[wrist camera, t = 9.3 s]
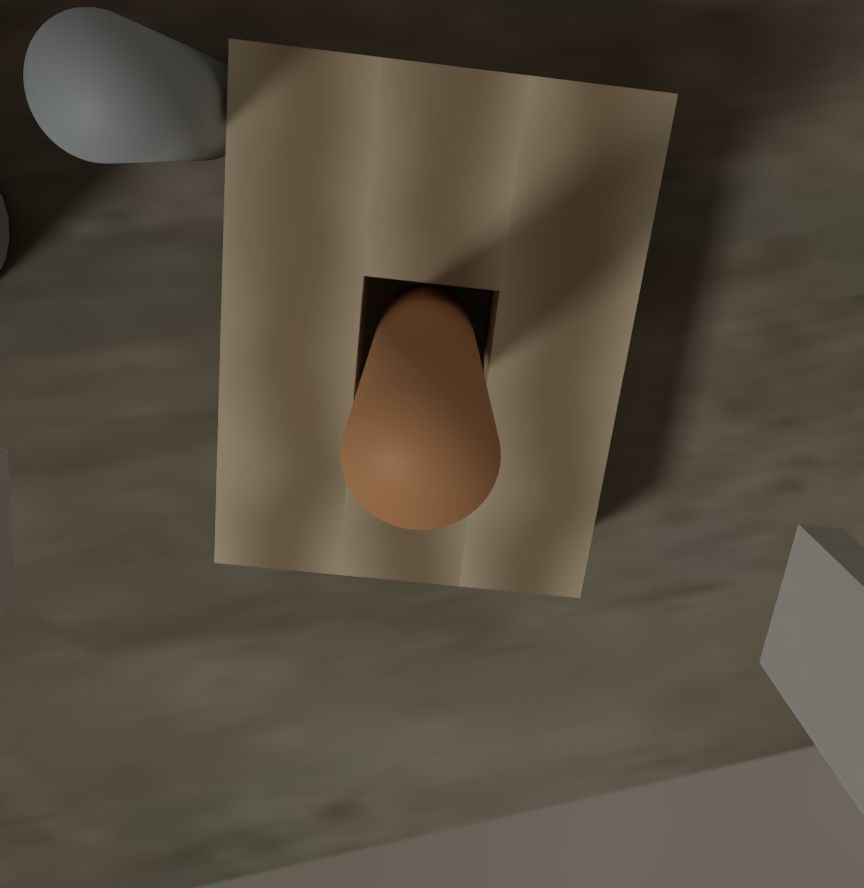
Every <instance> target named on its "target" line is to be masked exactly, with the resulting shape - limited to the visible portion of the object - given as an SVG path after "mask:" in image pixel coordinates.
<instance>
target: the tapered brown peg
mask: <svg viewBox="0 0 864 888" xmlns="http://www.w3.org/2000/svg"><path fill="white" fill-rule="evenodd" d="M340 460H341V467H342V472H343V475H344V478H345V481H346V483H347V486H348V488H349V489H350V491H351V493H352V494H353V496H354V497H355V498H356V500H357V501H358V502H359V503H360V504H361V505H362V506H363V507H364V508H365V509H366V510H367V511H368V512H370V513H371V514H372V515H374V516H375V517H377V518H378V519H380V520H382V521H384V522H386V523H388V524H391V525H394V526H397V527H400V528H405V529H411V530H430V529H437V528H442V527H445V526H448V525H451V524H454V523H456V522H458V521H460V520H462V519H464V518H465V517H467V516H468V515H470V514H471V513H472V512H473V511H475V510H476V509H477V508H478V507H479V506H480V505H481V504H482V503H483V502H484V501H485V499H486V498H487V497H488V495H489V494H490V492H491V490H492V488H493V487H494V485H495V482H496V479H497V477H498V473H499V469H500V462H501V447H500V441H499V436H498V432H497V428H496V424H495V419H494V415H493V411H492V406H491V402H490V398H489V394H488V389H487V385H486V381H485V376H484V372H483V368H482V364H481V359H480V355H479V351H478V347H477V342H476V338H475V334H474V329H473V325H472V321H471V317H470V314H469V311H468V309H467V307H466V306H465V304H464V303H463V301H462V300H461V299H460V298H459V297H458V296H457V295H456V294H455V293H453V292H452V291H450V290H449V289H447V288H445V287H442V286H439V285H436V284H429V283H422V284H415V285H411V286H408V287H406V288H404V289H402V290H400V291H399V292H397V293H396V294H395V295H394V296H393V297H392V298H391V299H390V300H389V301H388V302H387V304H386V306H385V307H384V309H383V311H382V313H381V317H380V320H379V323H378V326H377V329H376V332H375V336H374V339H373V342H372V345H371V348H370V351H369V354H368V358H367V361H366V364H365V367H364V370H363V373H362V377H361V380H360V383H359V386H358V389H357V392H356V395H355V399H354V402H353V405H352V408H351V411H350V414H349V418H348V421H347V424H346V427H345V430H344V434H343V437H342V442H341V448H340Z"/></svg>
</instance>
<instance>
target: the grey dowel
mask: <svg viewBox="0 0 864 888" xmlns="http://www.w3.org/2000/svg"><path fill="white" fill-rule="evenodd" d="M23 81H24V89H25V94H26V98H27V101H28V104H29V107H30V110H31V112H32V114H33V116H34V118H35V119H36V121H37V123H38V124H39V126H40V127H41V129H42V130H43V131H44V132H45V134H46V135H47V136H48V137H49V138H50V139H51V140H52V141H53V142H54V143H55V144H57V145H58V146H59V147H60V148H62V149H63V150H65V151H66V152H68V153H69V154H71V155H73V156H76V157H78V158H80V159H83V160H86V161H90V162H95V163H139V162H172V161H205V160H213V159H218V158H220V157H223V156H225V155H226V122H227V86H228V66H227V65H226V64H224V63H223V62H221V61H220V60H218V59H216V58H214V57H211V56H209V55H207V54H205V53H203V52H200V51H198V50H196V49H194V48H191V47H189V46H187V45H185V44H183V43H180V42H178V41H176V40H174V39H172V38H169V37H167V36H165V35H163V34H160V33H158V32H156V31H154V30H152V29H149V28H147V27H145V26H143V25H141V24H138V23H136V22H134V21H132V20H129V19H127V18H125V17H123V16H121V15H118V14H116V13H114V12H111V11H108V10H105V9H100V8H95V7H78V8H73V9H69V10H65V11H63V12H61V13H58V14H56V15H55V16H53V17H52V18H50V19H49V20H48V21H46V22H45V23H44V24H43V25H42V26H41V27H40V28H39V30H38V31H37V32H36V34H35V35H34V37H33V38H32V40H31V42H30V44H29V47H28V49H27V53H26V56H25V61H24V68H23Z"/></svg>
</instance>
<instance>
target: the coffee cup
mask: <svg viewBox="0 0 864 888" xmlns="http://www.w3.org/2000/svg"><path fill="white" fill-rule="evenodd" d="M8 245H9V217H8V214H7V210H6V207H5V204H4V201H3V197H2V195H1V193H0V269H1V268H2V266H3V264H4V262H5V259H6V254H7V250H8Z"/></svg>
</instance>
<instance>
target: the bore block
mask: <svg viewBox="0 0 864 888" xmlns="http://www.w3.org/2000/svg"><path fill="white" fill-rule="evenodd" d="M677 97H678V94H675V93H667V92H659V91H651V90H643V89H635V88H627V87H618V86H610V85H602V84H594V83H586V82H578V81H570V80H562V79H554V78H546V77H537V76H529V75H521V74H513V73H505V72H497V71H489V70H481V69H473V68H465V67H456V66H448V65H440V64H432V63H424V62H416V61H408V60H400V59H392V58H384V57H375V56H367V55H359V54H351V53H343V52H335V51H327V50H319V49H311V48H303V47H294V46H286V45H278V44H270V43H262V42H254V41H246V40H238V39H230V38H229V50H228V86H227V122H226V158H225V194H224V230H223V267H222V303H221V339H220V375H219V411H218V447H217V483H216V519H215V556H214V563H222V564H232V565H243V566H253V567H263V568H274V569H284V570H295V571H305V572H315V573H326V574H336V575H347V576H357V577H367V578H378V579H388V580H398V581H409V582H419V583H430V584H440V585H450V586H461V587H471V588H482V589H492V590H502V591H513V592H523V593H534V594H544V595H554V596H565V597H575V598H580V596H581V591H582V586H583V581H584V576H585V571H586V565H587V560H588V555H589V550H590V545H591V540H592V535H593V529H594V524H595V519H596V514H597V509H598V504H599V498H600V493H601V488H602V483H603V478H604V473H605V468H606V462H607V457H608V452H609V447H610V442H611V437H612V432H613V426H614V421H615V416H616V411H617V406H618V401H619V396H620V390H621V385H622V380H623V375H624V370H625V365H626V360H627V354H628V349H629V344H630V339H631V334H632V329H633V324H634V318H635V313H636V308H637V303H638V298H639V293H640V288H641V282H642V277H643V272H644V267H645V262H646V257H647V252H648V246H649V241H650V236H651V231H652V226H653V221H654V216H655V210H656V205H657V200H658V195H659V190H660V185H661V180H662V174H663V169H664V164H665V159H666V154H667V149H668V144H669V138H670V133H671V128H672V123H673V118H674V113H675V107H676V102H677ZM422 283H429V284H436V285H439V286H442V287H445V288H447V289H449V290H450V291H452V292H453V293H455V294H456V295H457V296H458V297H459V298H460V299H461V300H462V301H463V303H464V304H465V306H466V307H467V309H468V311H469V314H470V317H471V321H472V325H473V329H474V334H475V338H476V342H477V347H478V351H479V355H480V359H481V364H482V368H483V372H484V376H485V381H486V385H487V389H488V394H489V398H490V402H491V406H492V411H493V415H494V419H495V424H496V428H497V432H498V436H499V441H500V447H501V462H500V469H499V473H498V477H497V479H496V482H495V485H494V487H493V488H492V490H491V492H490V494H489V495H488V497H487V498H486V499H485V501H484V502H483V503H482V504H481V505H480V506H479V507H478V508H477V509H476V510H475V511H473V512H472V513H471V514H470V515H468V516H467V517H465V518H464V519H462V520H460V521H458V522H456V523H454V524H451V525H448V526H445V527H442V528H437V529H430V530H411V529H405V528H400V527H397V526H394V525H391V524H388V523H386V522H384V521H382V520H380V519H378V518H377V517H375V516H374V515H372V514H371V513H370V512H368V511H367V510H366V509H365V508H364V507H363V506H362V505H361V504H360V503H359V502H358V501H357V500H356V498H355V497H354V496H353V494H352V493H351V491H350V489H349V488H348V486H347V483H346V481H345V478H344V475H343V472H342V467H341V460H340V448H341V442H342V437H343V434H344V430H345V427H346V424H347V421H348V418H349V414H350V411H351V408H352V405H353V402H354V399H355V395H356V392H357V389H358V386H359V383H360V380H361V377H362V373H363V370H364V367H365V364H366V361H367V358H368V354H369V351H370V348H371V345H372V342H373V339H374V336H375V332H376V329H377V326H378V323H379V320H380V317H381V313H382V311H383V309H384V307H385V306H386V304H387V302H388V301H389V300H390V299H391V298H392V297H393V296H394V295H395V294H396V293H397V292H399V291H400V290H402V289H404V288H406V287H408V286H411V285H415V284H422Z"/></svg>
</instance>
